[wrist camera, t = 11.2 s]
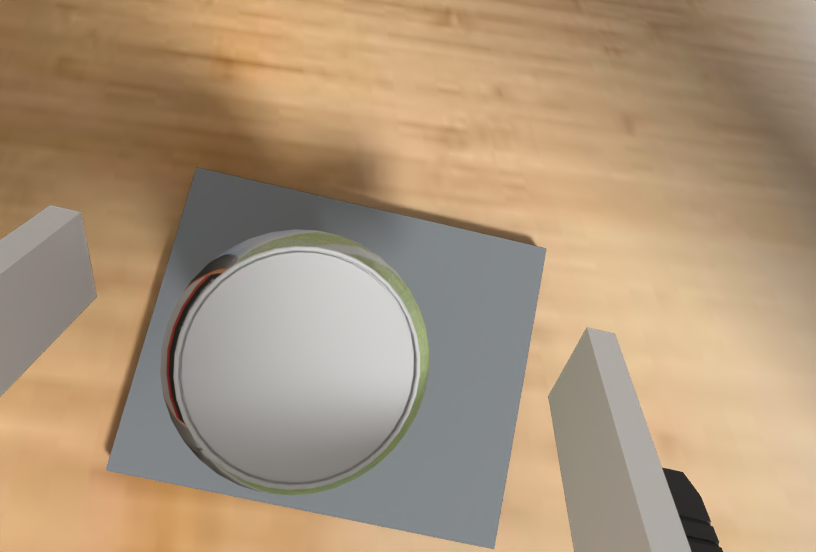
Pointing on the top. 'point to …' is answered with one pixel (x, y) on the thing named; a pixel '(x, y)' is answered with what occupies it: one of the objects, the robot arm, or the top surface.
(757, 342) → the top surface
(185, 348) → the beverage can
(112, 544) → the top surface
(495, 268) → the rubber mat
